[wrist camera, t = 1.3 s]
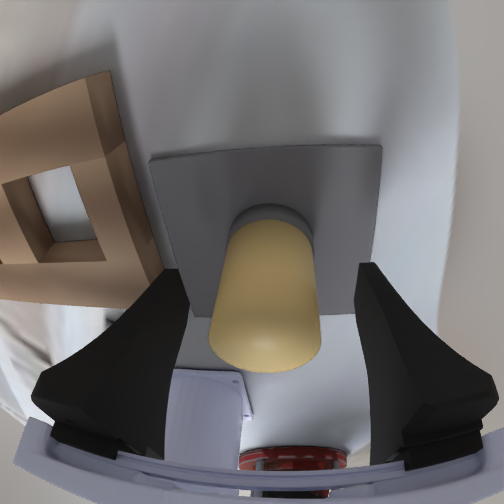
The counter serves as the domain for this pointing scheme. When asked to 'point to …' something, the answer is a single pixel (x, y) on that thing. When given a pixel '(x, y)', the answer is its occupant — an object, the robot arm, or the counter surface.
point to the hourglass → (292, 466)
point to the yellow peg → (267, 293)
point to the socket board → (92, 194)
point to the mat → (278, 192)
